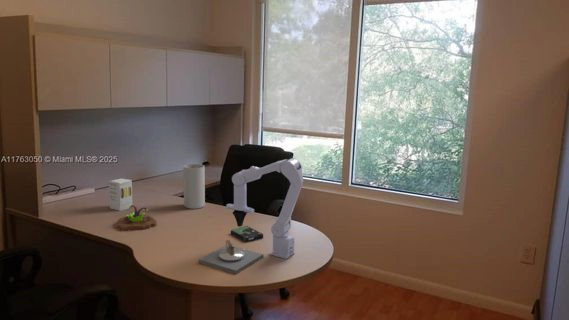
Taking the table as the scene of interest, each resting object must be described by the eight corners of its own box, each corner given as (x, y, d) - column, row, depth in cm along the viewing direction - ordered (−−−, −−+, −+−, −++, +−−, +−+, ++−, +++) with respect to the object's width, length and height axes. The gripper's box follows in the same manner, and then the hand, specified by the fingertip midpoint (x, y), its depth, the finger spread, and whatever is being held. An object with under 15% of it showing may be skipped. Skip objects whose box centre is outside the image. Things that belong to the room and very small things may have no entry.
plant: (113, 222, 237) (112, 202, 235) (150, 217, 247) (149, 197, 245) (120, 233, 220) (119, 212, 218) (159, 228, 230) (158, 207, 228)
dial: (247, 259, 188) (247, 248, 187) (221, 262, 184) (221, 251, 183) (239, 247, 201) (239, 237, 200) (215, 250, 197) (215, 239, 196)
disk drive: (263, 239, 219) (246, 230, 230) (263, 233, 218) (247, 225, 229) (246, 243, 212) (230, 234, 224) (246, 238, 212) (230, 229, 223)
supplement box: (120, 211, 255) (118, 183, 251) (109, 208, 259) (108, 180, 256) (133, 207, 263) (132, 179, 260) (122, 204, 267) (121, 177, 264)
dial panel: (263, 257, 195) (263, 254, 195) (236, 274, 178) (236, 270, 178) (227, 247, 205) (227, 244, 205) (198, 262, 188) (198, 258, 188)
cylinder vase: (207, 204, 273) (207, 164, 269) (200, 209, 261) (200, 168, 257) (188, 202, 275) (188, 163, 271) (180, 208, 263) (179, 167, 259)
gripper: (258, 198, 202) (257, 226, 204) (232, 193, 209) (232, 220, 211) (249, 201, 196) (248, 230, 198) (223, 196, 203) (223, 224, 205)
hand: (239, 225), depth 204 cm, fingers closed
